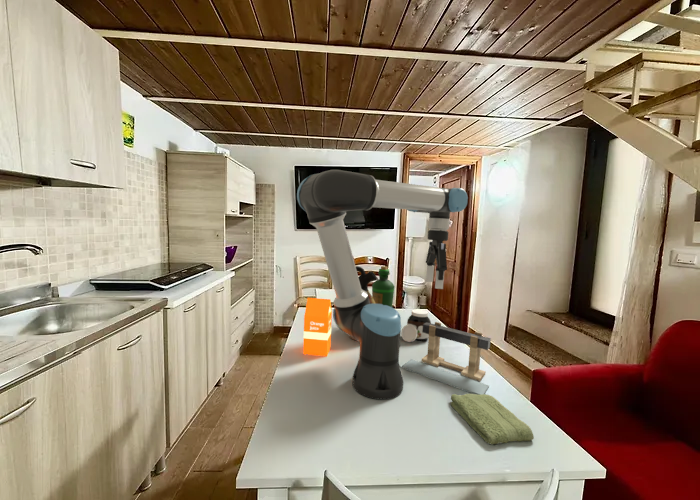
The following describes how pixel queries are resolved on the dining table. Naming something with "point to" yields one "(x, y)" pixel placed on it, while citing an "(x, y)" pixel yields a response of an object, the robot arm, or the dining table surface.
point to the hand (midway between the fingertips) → (433, 285)
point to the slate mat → (446, 377)
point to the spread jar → (415, 326)
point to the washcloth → (491, 418)
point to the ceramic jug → (366, 283)
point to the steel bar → (457, 335)
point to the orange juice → (317, 327)
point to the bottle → (383, 288)
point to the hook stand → (435, 360)
